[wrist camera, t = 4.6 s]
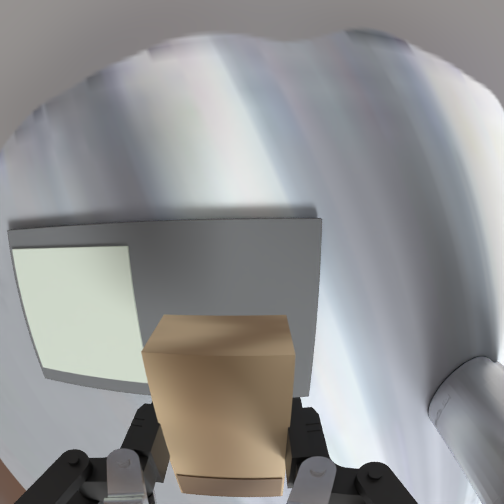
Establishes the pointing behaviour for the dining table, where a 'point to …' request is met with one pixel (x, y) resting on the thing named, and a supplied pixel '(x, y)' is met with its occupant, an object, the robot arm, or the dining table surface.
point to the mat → (159, 288)
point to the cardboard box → (223, 400)
